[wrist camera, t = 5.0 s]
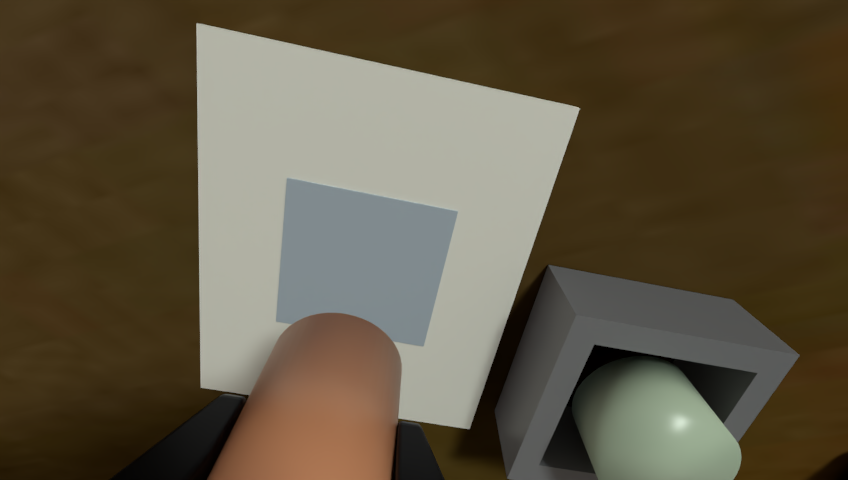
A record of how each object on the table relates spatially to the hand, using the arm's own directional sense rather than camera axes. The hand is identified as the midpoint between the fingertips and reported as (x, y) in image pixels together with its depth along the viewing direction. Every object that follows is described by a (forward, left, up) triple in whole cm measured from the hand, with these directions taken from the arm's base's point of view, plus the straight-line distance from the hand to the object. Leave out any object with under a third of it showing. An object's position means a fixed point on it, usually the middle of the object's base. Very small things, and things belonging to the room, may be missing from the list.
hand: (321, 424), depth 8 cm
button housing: (-9, +2, -6) cm, 11 cm away
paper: (0, 0, -6) cm, 6 cm away
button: (-9, +2, -4) cm, 10 cm away
